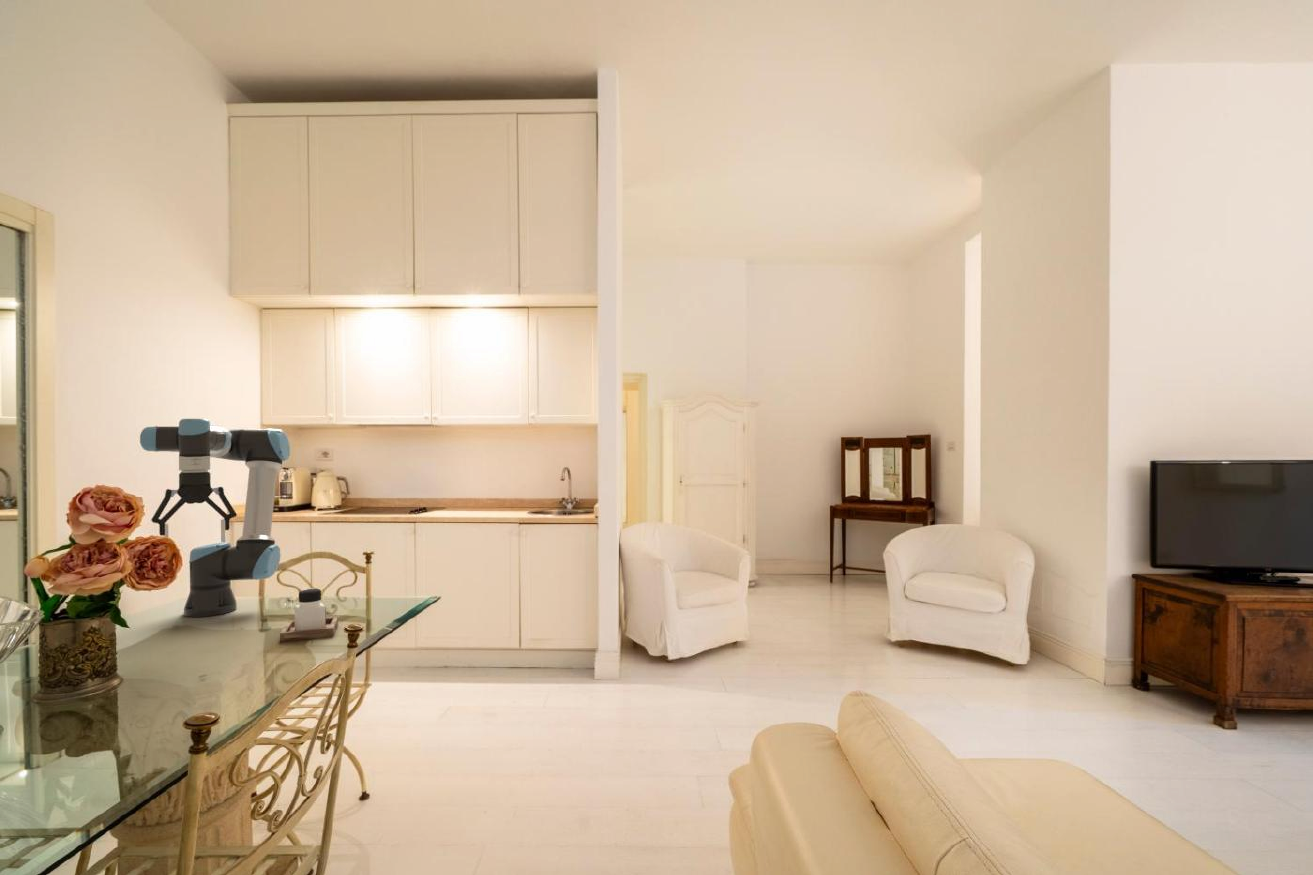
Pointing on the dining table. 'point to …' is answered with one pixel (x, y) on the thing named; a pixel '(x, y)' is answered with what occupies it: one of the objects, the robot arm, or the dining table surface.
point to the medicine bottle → (310, 610)
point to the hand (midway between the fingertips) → (195, 544)
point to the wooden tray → (308, 631)
